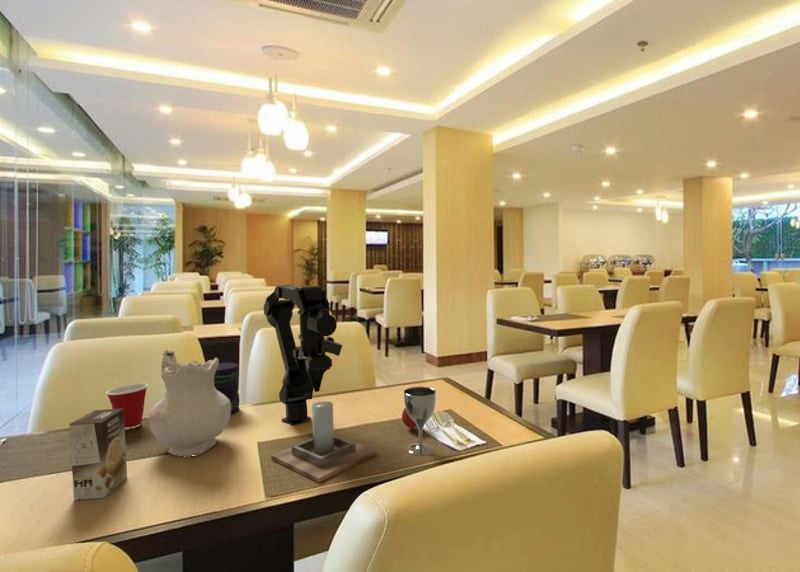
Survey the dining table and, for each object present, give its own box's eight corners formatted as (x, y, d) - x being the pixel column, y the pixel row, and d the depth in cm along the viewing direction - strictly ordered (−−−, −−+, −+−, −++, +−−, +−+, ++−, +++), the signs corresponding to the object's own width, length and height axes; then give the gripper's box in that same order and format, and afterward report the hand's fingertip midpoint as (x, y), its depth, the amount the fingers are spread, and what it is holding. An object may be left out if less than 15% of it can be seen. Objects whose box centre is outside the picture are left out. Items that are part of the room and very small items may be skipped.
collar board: (271, 459, 110) (271, 447, 109) (328, 436, 123) (328, 425, 123) (318, 482, 98) (318, 469, 98) (376, 454, 112) (375, 442, 111)
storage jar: (245, 407, 148) (244, 362, 147) (228, 418, 139) (226, 370, 138) (218, 406, 150) (216, 362, 149) (200, 416, 141) (197, 369, 140)
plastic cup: (135, 418, 140) (133, 380, 139) (158, 423, 135) (156, 384, 135) (99, 430, 130) (96, 390, 130) (122, 436, 126) (120, 394, 125)
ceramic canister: (310, 456, 109) (308, 407, 108) (318, 447, 114) (317, 401, 113) (329, 457, 108) (328, 408, 107) (337, 449, 112) (335, 402, 112)
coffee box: (105, 498, 93) (100, 422, 92) (72, 500, 92) (67, 424, 91) (128, 477, 102) (124, 407, 101) (98, 478, 102) (94, 409, 101)
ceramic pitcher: (128, 459, 114) (115, 364, 110) (188, 425, 132) (179, 343, 128) (195, 472, 106) (184, 370, 103) (249, 434, 125) (241, 347, 121)
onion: (420, 433, 124) (420, 405, 123) (400, 432, 125) (399, 404, 124) (424, 426, 129) (423, 398, 129) (404, 424, 131) (403, 397, 130)
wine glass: (439, 444, 116) (439, 387, 115) (431, 458, 109) (430, 397, 108) (410, 441, 119) (409, 385, 118) (400, 454, 111) (399, 394, 110)
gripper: (350, 333, 119) (351, 391, 120) (328, 324, 136) (330, 375, 137) (308, 337, 114) (310, 398, 115) (291, 327, 131) (293, 380, 132)
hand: (312, 387), depth 125 cm, fingers open, 9 cm apart
